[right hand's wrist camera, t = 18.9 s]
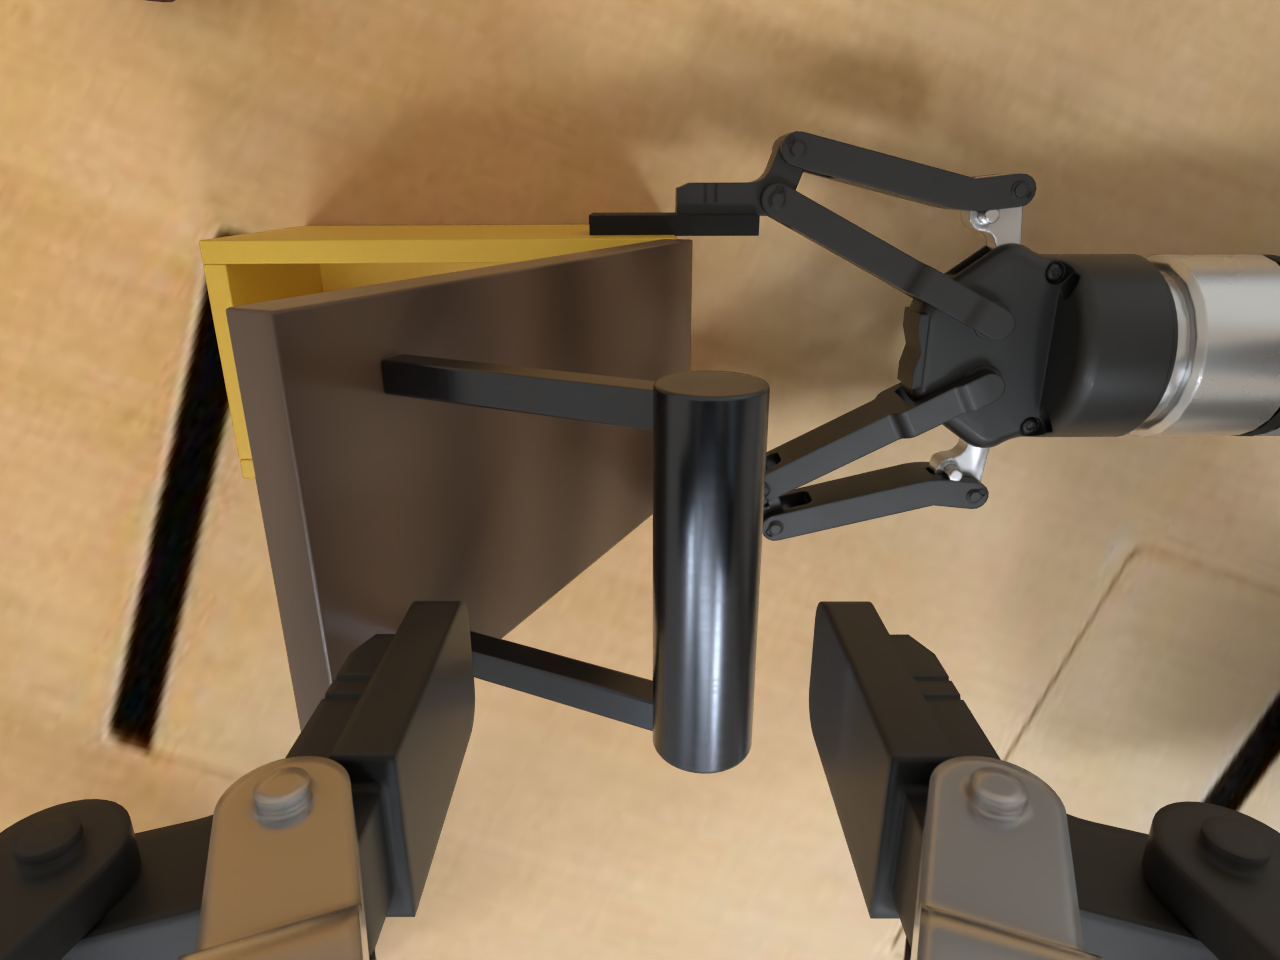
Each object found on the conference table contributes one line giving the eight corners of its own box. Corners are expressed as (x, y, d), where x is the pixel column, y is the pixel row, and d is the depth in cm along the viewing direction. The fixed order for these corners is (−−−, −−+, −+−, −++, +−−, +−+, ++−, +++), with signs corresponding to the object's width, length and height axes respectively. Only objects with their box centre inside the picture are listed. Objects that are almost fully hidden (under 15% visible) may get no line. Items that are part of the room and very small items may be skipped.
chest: (329, 413, 42) (242, 479, 33) (303, 225, 39) (197, 240, 30) (667, 411, 42) (674, 477, 33) (668, 223, 39) (677, 237, 30)
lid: (303, 753, 17) (693, 906, 14) (223, 307, 14) (707, 350, 10) (662, 480, 33) (890, 517, 29) (663, 238, 29) (919, 246, 26)
